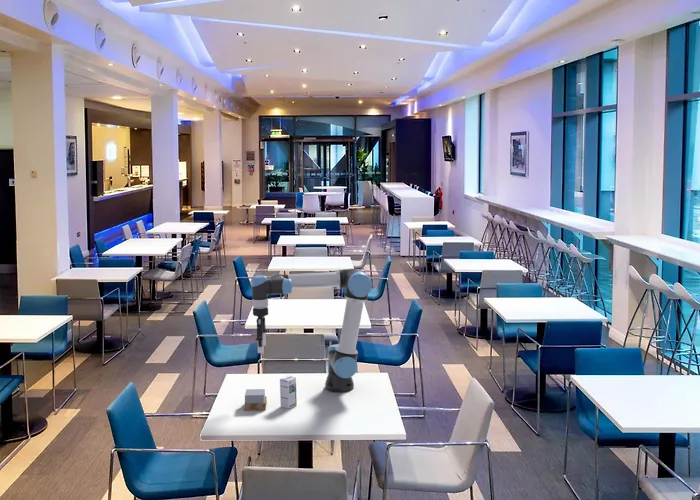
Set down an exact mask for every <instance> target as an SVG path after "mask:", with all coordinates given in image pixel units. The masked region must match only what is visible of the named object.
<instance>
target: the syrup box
mask: <svg viewBox="0 0 700 500" xmlns="http://www.w3.org/2000/svg"><path fill="white" fill-rule="evenodd" d="M279 394H280V395H279V397H280V407H282V408H284V409H287V410H288V409H291V408H294V407H297V405H298V403H297V400H298V399H297V378H296V377H295V376H292V375H287V376H284V377H281V378H279Z"/></svg>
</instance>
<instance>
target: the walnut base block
mask: <svg viewBox="0 0 700 500" xmlns="http://www.w3.org/2000/svg"><path fill="white" fill-rule="evenodd" d="M267 403H268V401H267V396H266V395H265V399H264V403H245V402H244V412H250V411H251V412H252V411H253V412H254V411H266V410H267V409H266V408H267Z"/></svg>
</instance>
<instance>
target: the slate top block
mask: <svg viewBox="0 0 700 500" xmlns="http://www.w3.org/2000/svg"><path fill="white" fill-rule="evenodd" d="M265 390H266V389H265V388H251V389H250V388H249V389H248V388H247V389H246V390H245V393H244V404H245V403H264V399H265V396H266V393H265V392H266V391H265Z"/></svg>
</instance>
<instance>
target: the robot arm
mask: <svg viewBox="0 0 700 500" xmlns="http://www.w3.org/2000/svg"><path fill="white" fill-rule="evenodd" d="M372 285H373V283H372V280H371V278H370V276H369V275H368V274H367V273H366V272H364V271H363V270H361V269H359V268H346V269H337V270H336V271H332V272H331V271H329V272H325V271H324V272H309V273H308V272H306V273H287V274H286V273H285V274H281V273H273V274H272V275H270V278H269V279H268V276H266V275H255V276H252V278H251V295H252V296H251V297H252V300H251V301H250V302H251V303H252V307H253V308H252V315H253V316H254V317H257V318H256V338H255V341H256V343H257V346H256V347H257V354H264V347H266V345H267V340H266V339H267V338H266V333H268V330H267V328H266V327H267V326H266V318H265V317H266V316H268V315H269V307H268V306H269V298H268V297H269V296H272V295H273V296H274V295H288V294H291V293H292V292H293V289H313V288H333V287H334V288H335V287H336V288H337V289H345V290H344V298H345V300H346V301H345V302H346V303H345V307H344V309H345V310H344V314H343V320H342V321H343V322H342V325H341V331H340V335H339V336H340V337H339V343H337V344H331V345H329V346H328V348H327V349H328V350H327V353H328V354H327V357H328V358H327V359H328V360H327V364H328V365H327V366H328V368H327V369H328V370H327V371H328V374H327V377H326V380H325V382H324V383H325V384H324V388H325V390H327V391H330V392H335V393H344V392H348V391H352V390H353V389H355V385H354V384H355V383H354V380H353V376H354V375H355V374H356V373H357V371H358V362H357V360H358V355H359V351H358V350H357V347H356V346H357V343H358V338H359V336H358V335H359V332H360V327H361V325H360V324H361V319H362V314H363V308H364V303H366V301H368V297H369V293H371V291H372Z"/></svg>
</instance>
